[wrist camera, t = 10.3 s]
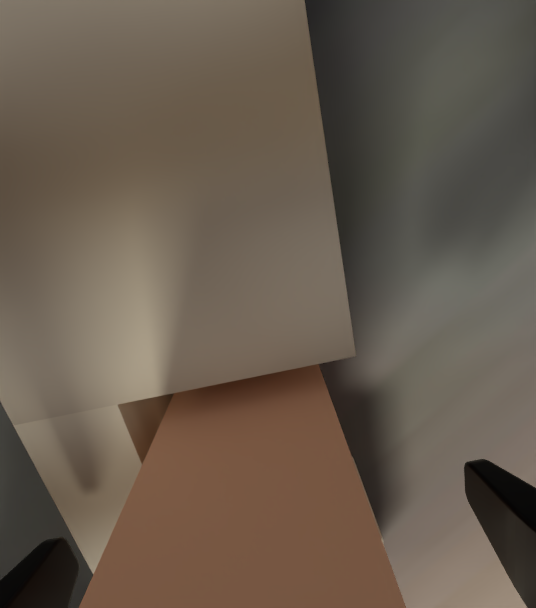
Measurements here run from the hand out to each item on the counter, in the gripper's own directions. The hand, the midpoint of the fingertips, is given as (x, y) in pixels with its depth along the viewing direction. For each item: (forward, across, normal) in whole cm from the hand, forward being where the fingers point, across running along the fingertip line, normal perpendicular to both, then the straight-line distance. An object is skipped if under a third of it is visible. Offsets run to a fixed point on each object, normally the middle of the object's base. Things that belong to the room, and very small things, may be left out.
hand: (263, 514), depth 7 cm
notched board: (+4, +1, -2) cm, 5 cm away
